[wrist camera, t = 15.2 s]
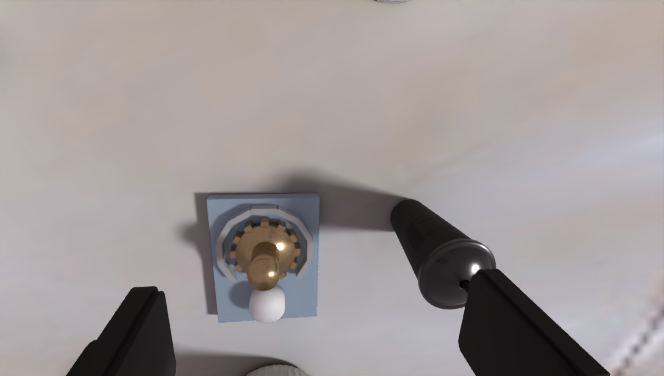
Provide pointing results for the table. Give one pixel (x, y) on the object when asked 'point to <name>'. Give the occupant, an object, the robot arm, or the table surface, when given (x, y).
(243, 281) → the carrier plate
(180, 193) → the table surface
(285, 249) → the bronze gear
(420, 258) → the drinking cup
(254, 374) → the canister
